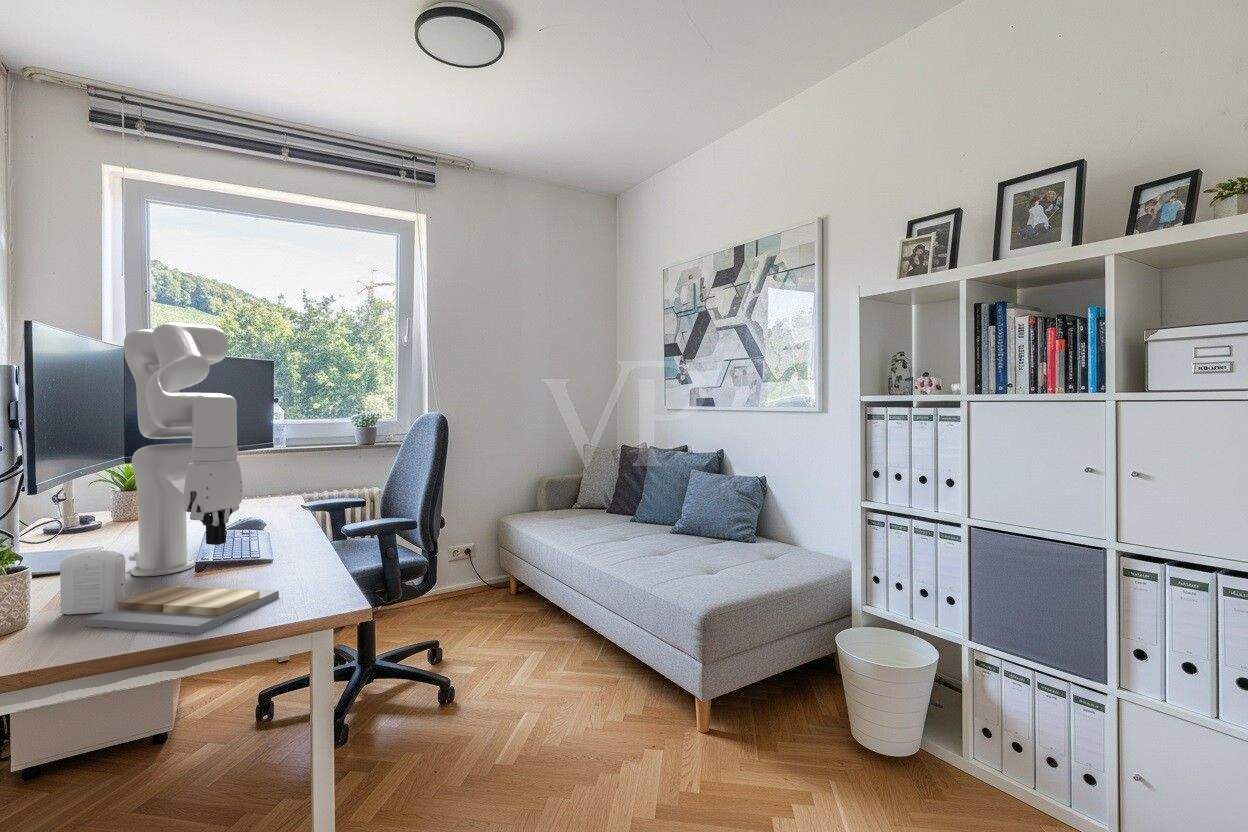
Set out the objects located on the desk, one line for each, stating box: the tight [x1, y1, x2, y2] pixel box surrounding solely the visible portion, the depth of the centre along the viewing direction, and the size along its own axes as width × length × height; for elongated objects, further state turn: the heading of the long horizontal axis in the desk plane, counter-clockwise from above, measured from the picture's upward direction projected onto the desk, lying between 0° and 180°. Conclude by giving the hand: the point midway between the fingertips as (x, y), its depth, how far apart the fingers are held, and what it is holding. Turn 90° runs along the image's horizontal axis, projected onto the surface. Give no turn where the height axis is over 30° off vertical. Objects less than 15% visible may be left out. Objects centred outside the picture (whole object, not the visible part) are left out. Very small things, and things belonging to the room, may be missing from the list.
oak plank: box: [163, 588, 260, 616], centre depth 116 cm, size 12×10×2 cm
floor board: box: [85, 584, 280, 635], centre depth 117 cm, size 24×20×2 cm
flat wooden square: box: [118, 585, 206, 612], centre depth 118 cm, size 10×10×2 cm
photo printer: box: [59, 549, 127, 615], centre depth 117 cm, size 10×4×12 cm, turn 103°
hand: (216, 543), depth 119 cm, fingers closed
